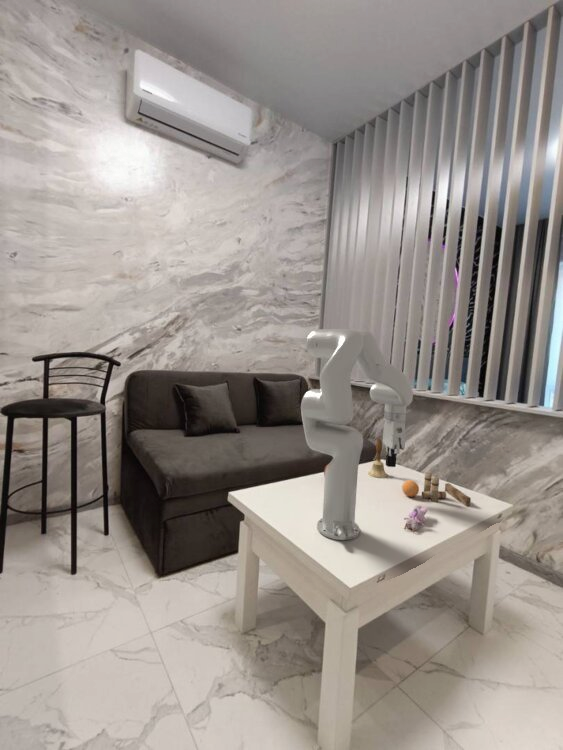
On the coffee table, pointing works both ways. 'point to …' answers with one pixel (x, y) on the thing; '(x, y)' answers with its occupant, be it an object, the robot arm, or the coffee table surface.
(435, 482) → the pin
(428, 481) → the pin
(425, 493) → the front pin
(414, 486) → the ball
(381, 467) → the hand bell
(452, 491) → the bar
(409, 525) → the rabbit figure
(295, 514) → the coffee table surface
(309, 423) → the robot arm
